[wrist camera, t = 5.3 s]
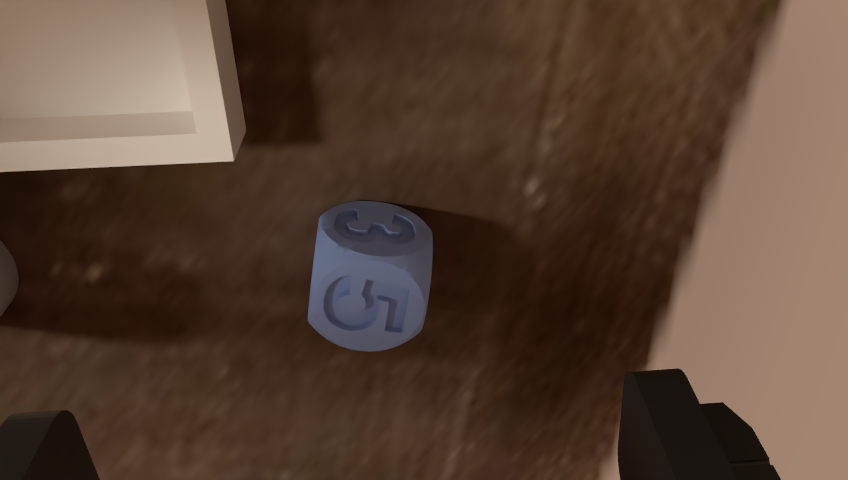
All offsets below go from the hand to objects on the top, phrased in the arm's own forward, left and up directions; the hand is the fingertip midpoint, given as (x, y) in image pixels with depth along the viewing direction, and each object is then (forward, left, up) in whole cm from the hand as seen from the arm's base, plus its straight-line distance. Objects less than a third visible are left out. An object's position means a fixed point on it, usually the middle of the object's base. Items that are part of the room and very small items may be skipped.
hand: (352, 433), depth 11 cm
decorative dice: (-1, -7, -17) cm, 19 cm away
